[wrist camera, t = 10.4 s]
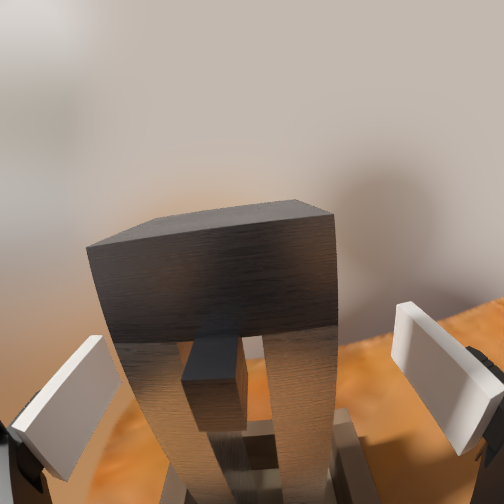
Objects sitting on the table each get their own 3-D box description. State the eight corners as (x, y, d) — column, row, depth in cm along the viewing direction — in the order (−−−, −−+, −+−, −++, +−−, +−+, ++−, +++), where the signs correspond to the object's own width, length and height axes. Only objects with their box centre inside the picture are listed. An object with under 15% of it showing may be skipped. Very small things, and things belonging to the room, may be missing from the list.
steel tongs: (307, 484, 12) (295, 199, 9) (318, 556, 7) (363, 225, 3) (234, 490, 12) (156, 218, 9) (230, 562, 7) (43, 267, 3)
